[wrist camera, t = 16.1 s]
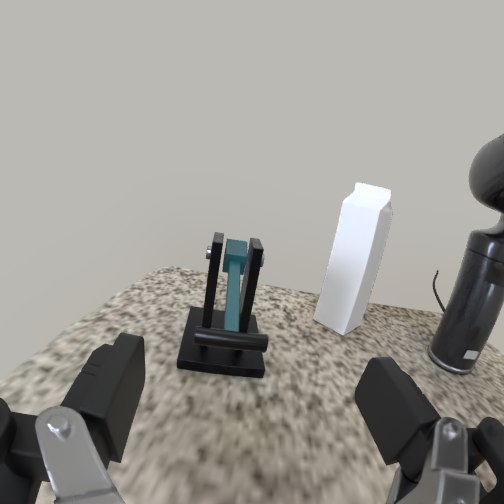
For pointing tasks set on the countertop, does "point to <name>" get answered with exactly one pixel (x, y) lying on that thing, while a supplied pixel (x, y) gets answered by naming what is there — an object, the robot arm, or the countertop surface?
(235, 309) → the lever
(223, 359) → the bracket
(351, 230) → the milk
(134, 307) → the countertop surface
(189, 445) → the countertop surface
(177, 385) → the countertop surface
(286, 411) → the countertop surface
